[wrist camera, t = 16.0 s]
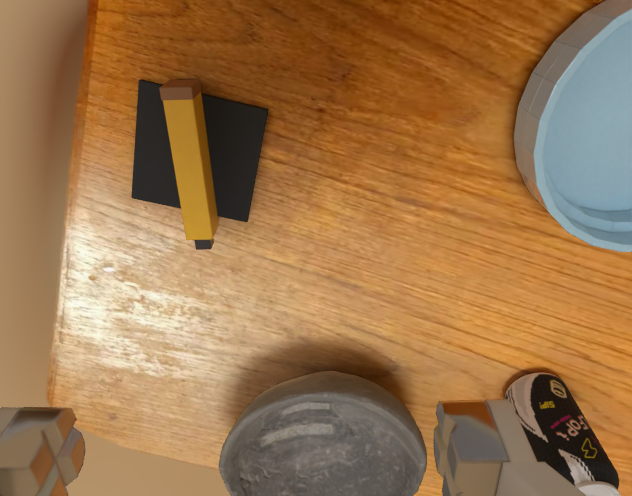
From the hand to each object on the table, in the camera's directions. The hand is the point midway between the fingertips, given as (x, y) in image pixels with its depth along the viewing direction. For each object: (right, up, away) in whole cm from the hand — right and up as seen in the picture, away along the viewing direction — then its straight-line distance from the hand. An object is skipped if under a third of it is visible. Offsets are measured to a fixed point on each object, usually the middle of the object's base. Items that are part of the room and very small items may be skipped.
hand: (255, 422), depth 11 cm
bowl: (+2, -12, +39) cm, 41 cm away
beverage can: (+22, -10, +38) cm, 45 cm away
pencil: (-7, +11, +26) cm, 29 cm away
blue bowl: (+24, +13, +25) cm, 37 cm away
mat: (-7, +11, +27) cm, 30 cm away
